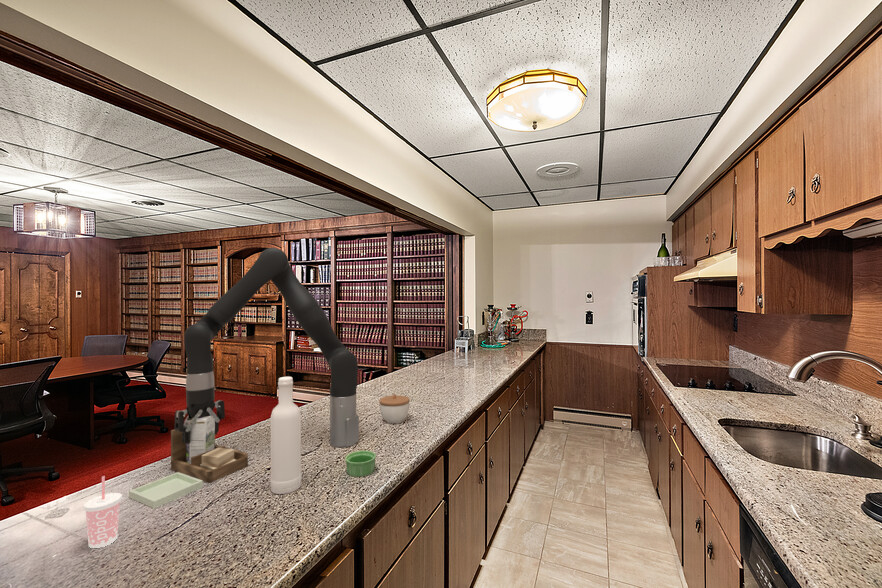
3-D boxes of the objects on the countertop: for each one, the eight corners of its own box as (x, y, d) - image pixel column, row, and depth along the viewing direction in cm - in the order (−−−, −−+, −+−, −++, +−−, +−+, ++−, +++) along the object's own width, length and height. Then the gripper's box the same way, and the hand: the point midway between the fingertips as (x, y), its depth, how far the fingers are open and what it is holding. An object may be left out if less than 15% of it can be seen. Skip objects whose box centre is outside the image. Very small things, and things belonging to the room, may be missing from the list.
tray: (203, 486, 105) (203, 480, 105) (153, 508, 94) (153, 501, 94) (178, 477, 110) (178, 472, 110) (129, 497, 100) (129, 490, 100)
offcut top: (234, 459, 117) (234, 449, 117) (218, 467, 111) (217, 457, 111) (218, 457, 118) (218, 447, 118) (201, 465, 113) (201, 455, 113)
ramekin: (339, 475, 111) (339, 460, 111) (356, 462, 120) (356, 448, 120) (365, 480, 108) (365, 464, 108) (381, 466, 116) (381, 452, 117)
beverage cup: (77, 555, 77) (77, 485, 77) (91, 537, 83) (91, 473, 83) (115, 546, 80) (115, 479, 80) (126, 530, 85) (126, 467, 85)
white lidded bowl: (375, 418, 163) (375, 392, 163) (403, 414, 168) (403, 389, 168) (384, 427, 151) (384, 399, 152) (414, 423, 157) (413, 396, 157)
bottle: (270, 483, 106) (270, 376, 107) (300, 478, 109) (300, 373, 110) (270, 497, 99) (269, 381, 99) (302, 491, 102) (301, 379, 102)
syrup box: (196, 459, 121) (195, 414, 121) (215, 458, 122) (215, 413, 122) (185, 467, 116) (185, 419, 116) (206, 466, 116) (205, 419, 116)
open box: (247, 466, 118) (247, 427, 118) (209, 483, 107) (208, 440, 107) (210, 455, 126) (210, 419, 126) (171, 470, 116) (170, 430, 116)
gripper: (183, 393, 111) (183, 449, 111) (229, 382, 124) (230, 433, 124) (168, 390, 114) (169, 444, 114) (215, 380, 127) (216, 429, 127)
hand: (201, 438), depth 119 cm, fingers closed on syrup box, 8 cm apart
